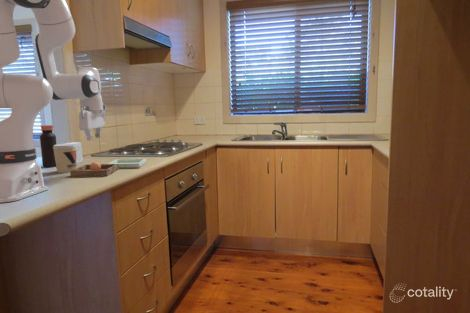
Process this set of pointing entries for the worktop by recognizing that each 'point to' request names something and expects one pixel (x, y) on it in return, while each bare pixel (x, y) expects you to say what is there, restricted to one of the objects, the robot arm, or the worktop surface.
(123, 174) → the worktop surface
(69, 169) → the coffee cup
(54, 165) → the bottle
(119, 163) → the tray
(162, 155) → the worktop surface
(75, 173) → the brown wooden tray
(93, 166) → the ball
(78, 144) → the small box
